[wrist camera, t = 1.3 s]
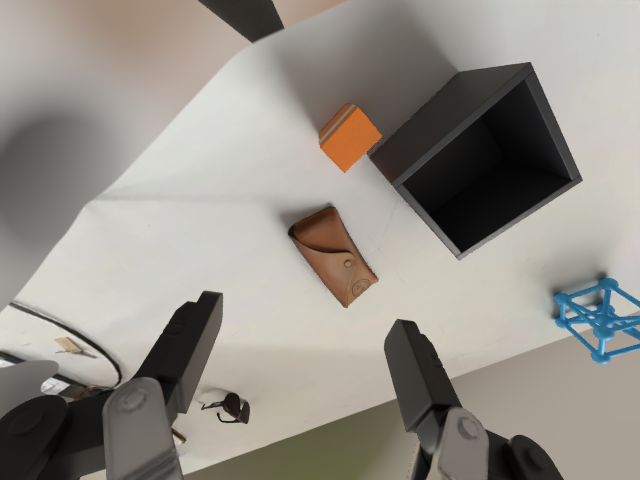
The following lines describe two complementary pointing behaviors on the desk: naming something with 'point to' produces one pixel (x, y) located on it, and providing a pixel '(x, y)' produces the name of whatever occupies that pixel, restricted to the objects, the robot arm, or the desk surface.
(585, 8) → the desk surface
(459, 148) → the dark grey storage bin
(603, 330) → the molecular structure
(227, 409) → the sunglasses
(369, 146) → the block
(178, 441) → the harmonica
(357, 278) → the sunglasses case
